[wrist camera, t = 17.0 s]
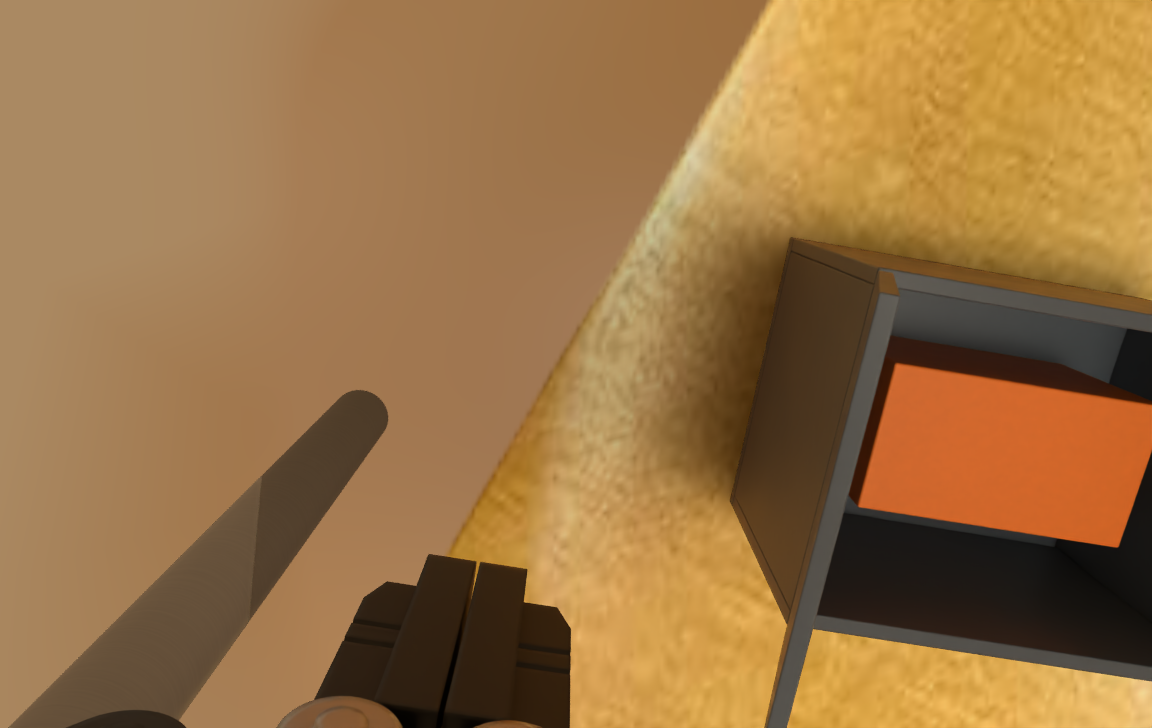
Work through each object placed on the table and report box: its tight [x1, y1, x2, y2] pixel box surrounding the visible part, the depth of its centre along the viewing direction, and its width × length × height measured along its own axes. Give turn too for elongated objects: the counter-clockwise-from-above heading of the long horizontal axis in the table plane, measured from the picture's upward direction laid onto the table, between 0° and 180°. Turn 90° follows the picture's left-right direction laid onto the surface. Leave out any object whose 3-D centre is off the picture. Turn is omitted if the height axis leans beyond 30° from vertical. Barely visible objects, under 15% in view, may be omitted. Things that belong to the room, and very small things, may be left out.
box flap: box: [764, 271, 900, 728], centre depth 20 cm, size 7×11×1 cm
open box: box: [730, 237, 1152, 681], centre depth 29 cm, size 14×11×10 cm
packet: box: [848, 336, 1152, 548], centre depth 30 cm, size 9×5×6 cm, turn 81°
